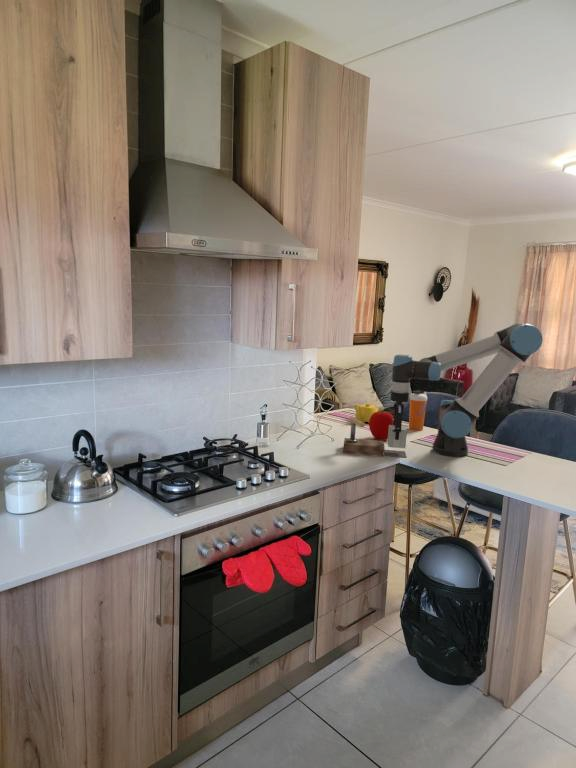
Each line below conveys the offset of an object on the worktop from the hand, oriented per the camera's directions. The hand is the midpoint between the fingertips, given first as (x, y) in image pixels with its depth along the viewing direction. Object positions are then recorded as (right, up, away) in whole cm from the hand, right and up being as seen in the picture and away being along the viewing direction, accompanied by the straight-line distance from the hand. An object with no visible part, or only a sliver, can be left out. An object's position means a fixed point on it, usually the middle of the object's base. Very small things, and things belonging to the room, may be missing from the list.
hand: (395, 444), depth 227 cm
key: (-17, +1, -1) cm, 17 cm away
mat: (0, -4, +1) cm, 4 cm away
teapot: (-3, +5, +61) cm, 61 cm away
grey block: (0, -1, 0) cm, 1 cm away
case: (-13, -3, +2) cm, 14 cm away
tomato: (-2, -1, +25) cm, 25 cm away
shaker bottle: (+20, +2, +49) cm, 53 cm away
